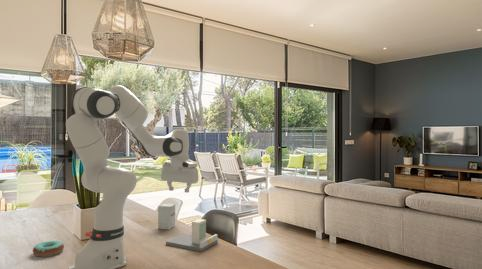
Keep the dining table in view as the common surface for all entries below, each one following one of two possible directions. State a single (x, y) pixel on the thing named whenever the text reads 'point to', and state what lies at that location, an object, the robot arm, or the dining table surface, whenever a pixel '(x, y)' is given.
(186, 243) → the grey panel white edge
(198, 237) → the carton
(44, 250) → the donut
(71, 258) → the dining table surface
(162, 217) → the supplement box
